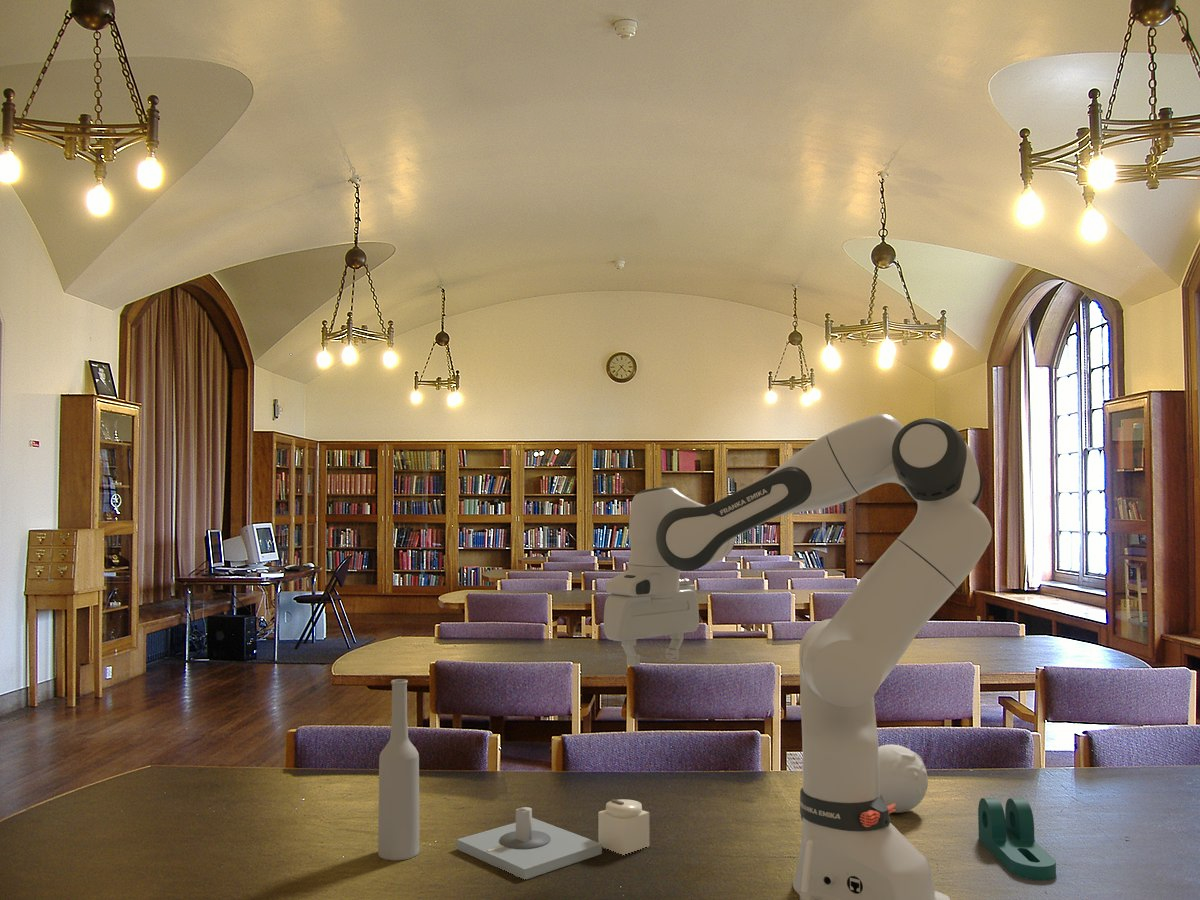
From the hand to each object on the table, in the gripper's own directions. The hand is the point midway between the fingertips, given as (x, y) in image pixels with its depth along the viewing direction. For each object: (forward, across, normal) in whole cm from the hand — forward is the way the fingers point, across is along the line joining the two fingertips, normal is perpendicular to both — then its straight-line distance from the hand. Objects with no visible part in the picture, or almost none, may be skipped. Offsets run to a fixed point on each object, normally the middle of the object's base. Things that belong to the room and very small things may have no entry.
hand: (653, 662), depth 170 cm
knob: (+30, +6, 0) cm, 30 cm away
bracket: (+29, -36, +47) cm, 66 cm away
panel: (+30, +19, -9) cm, 37 cm away
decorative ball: (+29, -43, +21) cm, 56 cm away
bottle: (+30, +35, -23) cm, 52 cm away
